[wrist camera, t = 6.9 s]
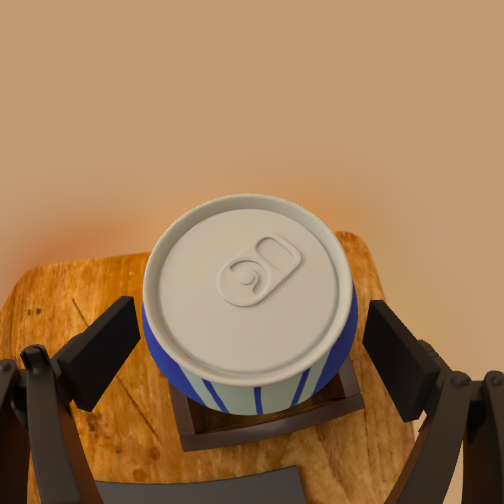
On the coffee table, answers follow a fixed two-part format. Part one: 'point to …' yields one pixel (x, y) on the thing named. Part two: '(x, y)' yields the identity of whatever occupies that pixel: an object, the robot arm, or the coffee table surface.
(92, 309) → the coffee table surface
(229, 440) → the can holder
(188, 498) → the rubber mat
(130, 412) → the coffee table surface
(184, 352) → the beer can
